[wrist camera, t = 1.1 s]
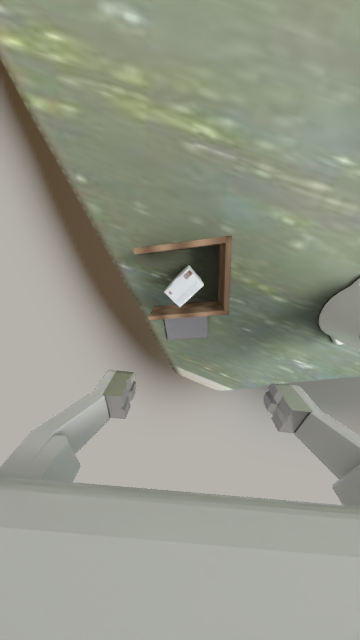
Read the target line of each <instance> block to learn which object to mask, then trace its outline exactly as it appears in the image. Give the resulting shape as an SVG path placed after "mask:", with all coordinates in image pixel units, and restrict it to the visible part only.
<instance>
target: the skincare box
mask: <svg viewBox="0 0 360 640" xmlns="http://www.w3.org/2000/svg"><path fill="white" fill-rule="evenodd" d="M203 286H204V284H203V282H202V280H201V278H200V277H199V276H198V275H197V273H196V272H195V271H194V270H193V269H192V268H191V266H190V265H187V266H186V267H185V268H184V269H183V270H182V271H181V272H180V273H179V274H178V275H177V276H176V277H175V278H174V279H173V280H172V281H171V283H170V284H169V285H168V287H167V288H166V289H165V291H164V293H165V294H166V295H167V296H168V297H169V298H170V299H172V300H173V301H174V302H175V303H176V304H177V305H178V306H179V307H181V306H182V305H183V304H184V303H185V302H187V301H188V300H189V299H190V298H191V297H192V296H193V295H194V294H195V293H196V292H197V291H198V290H200V289H201V288H202V287H203Z"/></svg>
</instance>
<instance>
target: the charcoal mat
mask: <svg viewBox="0 0 360 640" xmlns="http://www.w3.org/2000/svg"><path fill="white" fill-rule="evenodd" d="M164 321H165V326H166V332H167V338H168V340H177V339H195V338H208V324H207V316H200V317H187V318H173V319H164Z"/></svg>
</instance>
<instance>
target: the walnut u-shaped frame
mask: <svg viewBox="0 0 360 640" xmlns="http://www.w3.org/2000/svg"><path fill="white" fill-rule="evenodd" d="M213 245H219V255H218V301H208V302H196V303H184V304H183V305H182V306H181V307H179V306H178V305H177V304H172V305H161V306H155V307H154V309H153V310H152V312H151V313H150V315H149V316H148V317H149V320H160V319H173V318H187V317H200V316H214V315H227V314H229V294H230V269H231V245H232V236H225V237H217V238H209V239H202V240H194V241H187V242H179V243H171V244H164V245H156V246H148V247H141V248H133V251H134V254H149V253H157V252H165V251H173V250H181V249H189V248H197V247H205V246H213Z"/></svg>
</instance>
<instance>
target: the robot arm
mask: <svg viewBox="0 0 360 640" xmlns="http://www.w3.org/2000/svg"><path fill="white" fill-rule="evenodd" d="M319 326H320V328H321V330H322V331H323V332H324V333H326V334H328V335H329V336H330V337H331V339H332V341H333V342H334V343H336V344H345V345H348V346H350V347H352V348H354V349H356V350H358V351H360V278H359V279H358V280H356V281H355V282H354V283H353V284H352V285H351V286H349V287H348V288H346V289H344V290H342V291H341V292H339V293H338V294H336V295H335V296H334V297H332V298H331V299H330V300H329V301H328V302H327V304H326V305H325V306H324V308H323V309H322V311H321V313H320V316H319ZM134 379H135V373H133V372H125V371H115V370H108V371H107V372H106V374H105V375H104V376H103V378H102V380H101V381H100V383H99V384H98V385H97V387H96V388H95V390H94V391H93V393H92V394H88V395H87V396H85V397H84V398H82V399H81V400H79V401H77V402H76V403H74V404H73V405H71V406H70V407H68V408H67V409H65V410H64V411H62V412H61V413H59V414H58V415H56V416H54V417H53V418H51V419H50V420H48V421H47V422H45V423H44V424H42V425H41V426H39V427H38V428H36V429H35V430H33V431H31V433H30V434H29V435H28V436H27V437H26V438H25V439H24V440H23V442H22V443H21V444H20V445H19V446H18V447H17V449H16V450H15V451H14V452H13V453H12V454H11V455H10V456H9V458H8V459H7V460H6V461H5V462H4V463H3V465H2V466H1V467H0V640H360V436H359V435H357V434H356V433H354V432H353V431H351V430H350V429H348V428H347V427H345V426H344V425H342V424H341V423H339V422H338V421H336V420H335V419H333V418H332V417H330V416H329V415H327V414H324V413H323V412H322V411H321V410H320V409H319V408H318V407H317V405H316V404H315V403H314V402H313V401H312V400H311V399H310V397H309V396H308V395H307V394H306V393H305V392H304V391H303V389H302V388H301V387H299V386H297V385H285V384H270V385H269V386H268V389H269V391H268V392H266V393H265V395H264V404H265V407H266V409H267V410H268V411H269V412H270V413H271V414H272V420H273V422H274V424H275V426H276V428H277V430H278V431H279V432H288V433H295V435H296V436H297V437H298V438H299V439H300V440H301V441H302V442H303V443H304V444H305V446H306V447H308V449H310V450H311V452H312V453H313V454H314V455H315V456H317V457H318V459H319V460H320V461H321V462H322V463H323V464H324V465H325V466H326V467H327V468H328V469H330V471H331V472H332V473H333V474H334V475H335V476H336V477H337V478H338V479H339V480H338V481H337V482H336V483H334V484H333V490H334V491H335V493H336V495H337V496H338V498H339V499H340V501H341V503H342V504H343V505H334V504H321V503H310V502H298V501H286V500H274V499H263V498H251V497H239V496H227V495H215V494H204V493H191V492H179V491H168V490H156V489H143V488H133V487H120V486H109V485H96V484H85V483H73V481H74V479H75V477H76V474H77V473H78V470H79V468H80V463H79V461H78V460H77V457H76V455H75V454H76V453H77V452H78V451H79V449H81V448H82V447H83V446H84V445H85V444H86V443H87V442H88V441H89V440H90V438H91V437H93V436H94V435H95V434H96V433H97V431H99V430H100V428H102V426H104V424H105V423H106V422H107V421H108V420H109V419H110V418H121V419H122V418H123V419H125V418H126V416H127V414H128V411H129V408H130V401H131V400H132V399H133V397H134V394H135V390H136V382H135V381H134Z"/></svg>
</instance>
